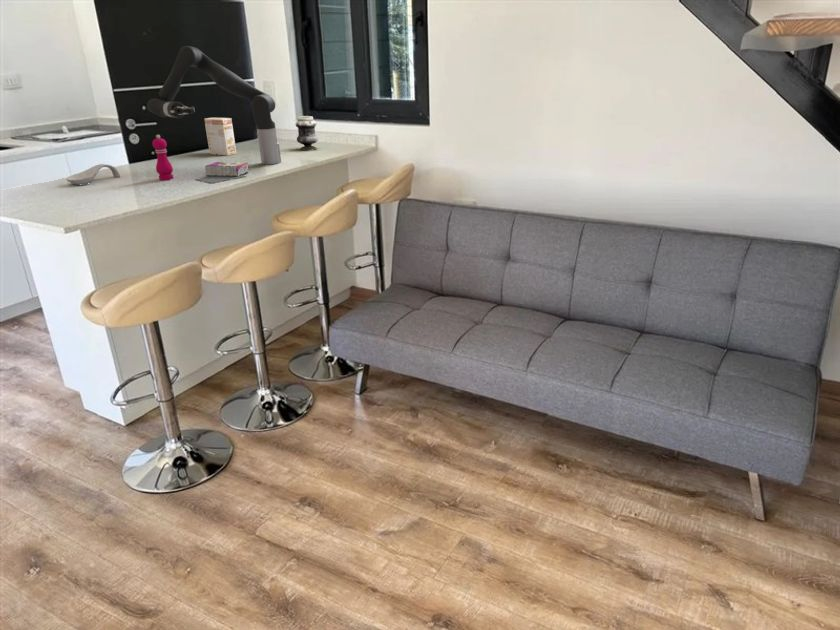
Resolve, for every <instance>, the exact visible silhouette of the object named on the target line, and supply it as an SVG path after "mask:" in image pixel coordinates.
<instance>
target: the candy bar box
mask: <svg viewBox="0 0 840 630" xmlns="http://www.w3.org/2000/svg"><path fill="white" fill-rule="evenodd" d="M204 168H205V174H206V177H210V176H240V175H245V174H247V173H249V172H250V170H249V163H248V162H247V161H245V162H244V161H243V162H242V161H241V162H238V161H228V162H227V161H216V162H214V163H209V164H207V165H205V166H204Z"/></svg>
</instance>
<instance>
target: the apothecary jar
mask: <svg viewBox="0 0 840 630" xmlns="http://www.w3.org/2000/svg"><path fill="white" fill-rule="evenodd" d="M295 126H296V128H297V131H298V135H297V137H296V141H297V143H299V144H301V145H303V146H301V147H300V148H299V150H300V151H313V150H312V149H315V150H317V149H316V148H317V147H316V146H315V145H314V144H316V143H317V142H318V141H319V140H318V139H319V138H318V136H317V134H316V129H315V128H316V126H317V121H315V120H314V117H313V115H312V116H310V115H302V116H298V117H297V120H296V121H295Z"/></svg>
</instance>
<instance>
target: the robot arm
mask: <svg viewBox="0 0 840 630" xmlns="http://www.w3.org/2000/svg"><path fill="white" fill-rule="evenodd" d="M190 67H193V68H195V69H196V70H199V71H201V72H203V73H204V74H206V75H207V76H209V77H210V79H211V80H212V81H213V82H214V83H215V84H216V85H217V86H219V87H220V88H221V89H223V90H225V91H227V92H228V93H229V94H232V95H235V96H237V97H240V98H243V99H245V100H247V101H249V102H250V103H251V111H252V116H253V122H254V124H255V126H256V132H257V140H258V147H259V154H260V162H261V163H260V164H262V165H276V164H279V163H282V158H281V150H280V149H281V148H280V142H278V136H277V130H276V123H275V122H274V121H273V119H272V115H271V114H272V112H274V111H275V109H276V101H275V100H274V98H273V97H272V96H271V95H269V94H268V93H266V92H264V91H261V89H258V88H256V87H254V86H253V85H252V84H250V83H249V82H247V81H246V80H244V79H243V78H241V77H240V76H239V75H237V74H236V73H234V72H232V71H231V70H230V69H228V68H226V67H225V66H223V65H221V64H220V63H217V62H216V61H214V60H212V59H211V58H210V57H209V56H207V55H206V54H205V53H204V52H203V51H201V50H200V49H199V48H197V47H194V46H191V45H190V46H189V45H184V46H182V47H180V49H179V50H178V54H177V56H176V59H175V61H174V63H173V66H172V68H171V70H170V73H169V75H168V77H167V79H166V80H165V82H164V84H163V85H162V87H161V89H160V90H159V92H158V95H159V97H160V98H161V99H158V98H151V99H150V100H148V101H147V103H146V105H147V106H146V107H147V110H148V111H149V112H150V113H152V114H154V115H156V116H158V117H161V118H166V117H170V118H174V119H175V118H176V119H181V118H183V117H185V115H191V114H194V113H196V110H195V106H190V107H189V106H186V105H184V104H183V103H182V102H180V101H174V99H175V97H176V95H177V94H178V93H179V91H180V88H181V84H182V82H183V81H182V80H183V77H184V76H185V73H187V71H188V69H189V68H190ZM162 99H163V100H162Z"/></svg>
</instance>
